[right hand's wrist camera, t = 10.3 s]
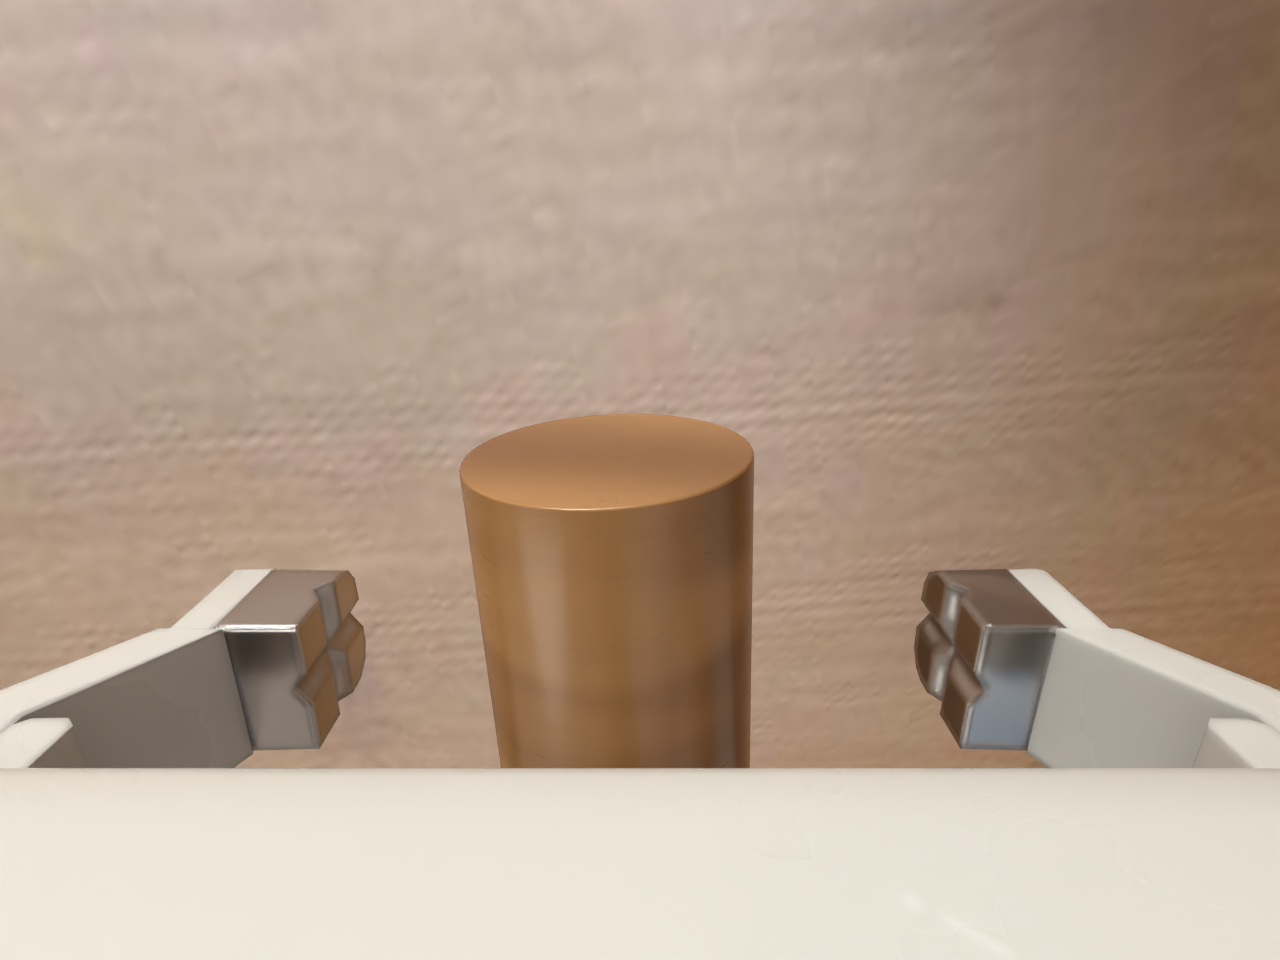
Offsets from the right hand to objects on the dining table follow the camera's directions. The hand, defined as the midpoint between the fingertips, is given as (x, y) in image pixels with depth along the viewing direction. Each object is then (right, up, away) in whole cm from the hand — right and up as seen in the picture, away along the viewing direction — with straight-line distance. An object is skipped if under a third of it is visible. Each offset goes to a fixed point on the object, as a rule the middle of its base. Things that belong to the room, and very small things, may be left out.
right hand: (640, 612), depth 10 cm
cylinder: (0, -7, +11) cm, 13 cm away
